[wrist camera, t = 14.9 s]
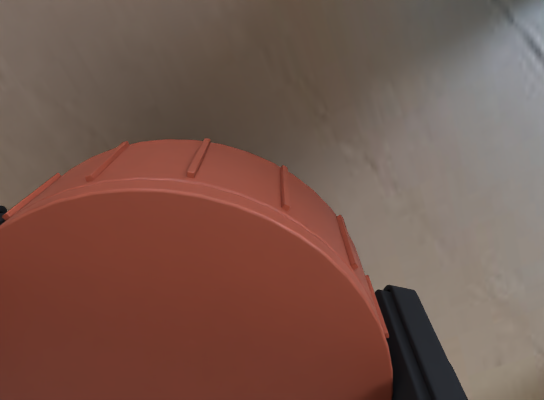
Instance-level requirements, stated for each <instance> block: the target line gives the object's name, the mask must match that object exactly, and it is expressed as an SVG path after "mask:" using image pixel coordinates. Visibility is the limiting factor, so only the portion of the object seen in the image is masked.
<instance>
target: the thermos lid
mask: <svg viewBox="0 0 544 400" xmlns="http://www.w3.org/2000/svg"><path fill="white" fill-rule="evenodd" d="M2 218H3V219H4V220H6V221H5V222H4V223H2V224H1V225H0V400H392V395H393V369H392V363H391V358H390V352H389V346H388V343H387V340H386V338H389V334H388V331H387V328H386V325H385V322H384V319H383V316H382V313H381V310H380V308H379V305H378V302H377V299H376V296H375V293H374V290H373V287H372V284H371V281H370V279H369V276H368V275H365V274H364V271H363V268H362V265H361V262H360V259H359V257H358V254H357V251H356V248H355V246H354V244H353V242H352V240H351V238H350V236H349V234H348V232H347V229H346V226H345V222H344V219H343V217H342V216H341V215H339V216H336V214H335V213H334V212H333V210H332V209H331V208H330V207H329V206H328V205H327V204H326V203H325V202H324V201H323V200H322V199H321V197H320V196H319V195H318V194H317V193H316V192H315V191H314V190H312V189H311V188H310V187H309V186H307V185H306V184H305V183H303V182H302V181H301V180H300V179H298V178H297V177H296V176H294V175H293V174H291V173H289V172H288V168H287V167H286V166H284V165H282V167H279V166H278V165H276V164H274V163H272V162H270V161H268V160H266V159H263V158H261V157H259V156H256V155H254V154H252V153H249V152H247V151H243V150H240V149H236V148H233V147H229V146H226V145H222V144H217V143H211V142H210V139H207V138H205V139H204V141H198V140H177V139H165V140H155V141H145V142H138V143H134V144H130V145H129V143H128V141H125V142H122V143H121V144H120V145H119V146H118V147H117V148H114V149H111V150H109V151H106V152H104V153H101V154H99V155H96V156H93V157H91V158H89V159H88V160H86V161H84V162H82V163H81V164H79V165H77V166H75V167H73V168H72V169H70V170H69V171H68V172H66V173H65V174H64V175H63V176H61V175H60V174H59V173H57V174H56V175H54V176H53V177H52V178H50V179H49V180H48V181H46V182H45V183H44V184H43V185H41V186H40V187H39V188H37V189H36V190H35V191H34V192H32V193H31V194H30V195H28V196H27V197H26V198H24V199H23V200H22V201H21V202H19V203H18V204H17V205H15V206H14V207H13V208H12V209H10V210H9V211H8V212H6V213H5V214H4V215H3V216H2Z"/></svg>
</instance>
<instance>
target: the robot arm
mask: <svg viewBox="0 0 544 400" xmlns="http://www.w3.org/2000/svg"><path fill="white" fill-rule="evenodd" d="M6 212H7V209H6V208H5V207H4V206H0V225H1V224H2V223H4V222H5V221H6V220H4V219H3V218H2V216H3V215H4V214H5V213H6ZM375 296H376V299H377V302H378V305H379V308H380V310H381V313H382V316H383V319H384V322H385V325H386V328H387V331H388V334H389V338H386V340H387V343H388V346H389V352H390V358H391V363H392V369H393V395H392V400H468V399H467V397H466V395H465V392H464V390H463V388H462V386H461V384H460V382H459V380H458V378H457V376H456V373H455V371H454V369H453V367H452V366H451V364H450V363H449V361H448V359H447V357H446V355H445V352H444V350H443V348H442V346H441V344H440V342H439V340H438V338H437V335H436V333H435V331H434V329H433V327H432V325H431V323H430V321H429V319H428V316H427V314H426V312H425V310H424V308H423V306H422V304H421V302H420V299H419V297H418V295H417V293H416V292H415V290H411V289H407V288H402V287H397V286H392V285H387V286H386V287H385V288H384V290H377V291H376V292H375Z"/></svg>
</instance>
